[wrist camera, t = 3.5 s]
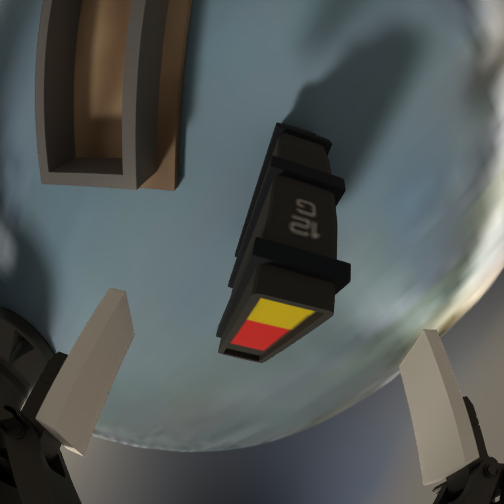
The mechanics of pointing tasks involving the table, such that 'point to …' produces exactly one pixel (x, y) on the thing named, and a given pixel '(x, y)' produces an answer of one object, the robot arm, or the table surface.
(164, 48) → the board
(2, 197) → the table surface
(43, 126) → the cradle
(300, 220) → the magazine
